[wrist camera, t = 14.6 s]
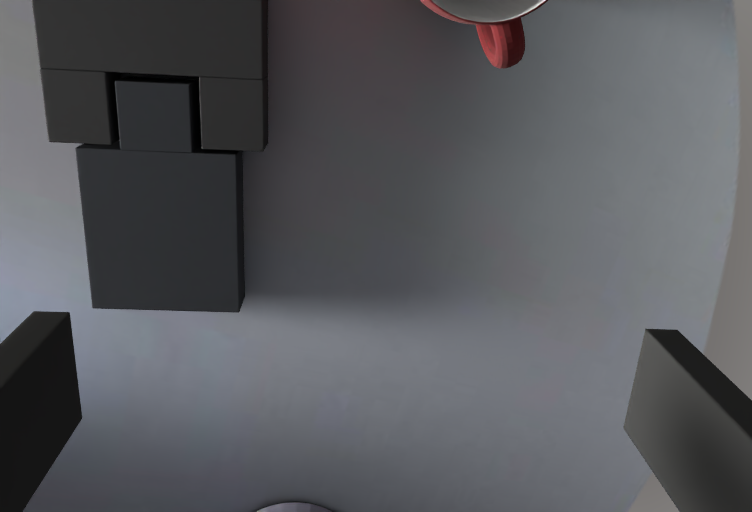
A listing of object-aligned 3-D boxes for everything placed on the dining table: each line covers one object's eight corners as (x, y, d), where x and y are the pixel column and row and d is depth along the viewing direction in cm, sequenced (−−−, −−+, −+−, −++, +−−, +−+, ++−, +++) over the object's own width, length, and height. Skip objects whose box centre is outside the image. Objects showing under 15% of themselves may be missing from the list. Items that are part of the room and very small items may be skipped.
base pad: (267, -76, 36) (262, -82, 33) (268, 143, 40) (263, 151, 37) (40, -91, 35) (19, -99, 32) (65, 134, 39) (48, 142, 37)
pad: (241, 82, 38) (234, 86, 36) (244, 296, 43) (239, 312, 41) (84, 74, 38) (67, 78, 35) (105, 292, 43) (92, 308, 40)
